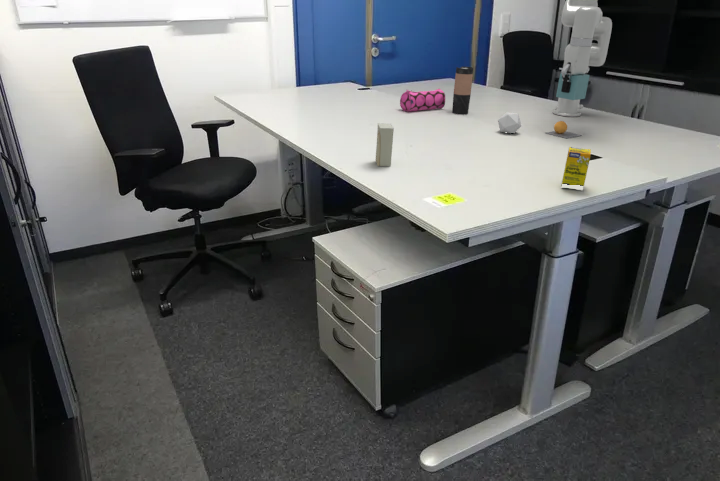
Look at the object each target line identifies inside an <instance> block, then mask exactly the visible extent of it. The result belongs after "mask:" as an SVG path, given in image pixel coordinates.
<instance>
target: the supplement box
mask: <svg viewBox="0 0 720 481" xmlns="http://www.w3.org/2000/svg"><path fill="white" fill-rule="evenodd" d="M567 151H568V152H567V154H566V155H567V156H566V161H565V166H564V171H563V176H562V180H561V185H562V184H567V185H580V186H585V182H586V178H587V173H588V169H589V164H590V160H591V154H592V152H591V151H592V150H591V149H590V148H589V149H588V148H582V147H581V148H580V147H573V146H569V147H568V150H567Z"/></svg>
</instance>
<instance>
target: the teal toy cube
mask: <svg viewBox="0 0 720 481" xmlns="http://www.w3.org/2000/svg"><path fill="white" fill-rule="evenodd" d="M569 76H570V75H568V78H569ZM562 79H563V78H562V73H561V72H560V74H559V79H558V84H557V90H556V96H555V97H556V98H564V99H569V100H579V99H580V100H585V99H586V97H587V90H588V86H589V80H590V74H587V75H586V74H582V75H572V78H571V81H570V82H571V86H570V91H569V93H566V92H561V89H562V84H563V81H562Z"/></svg>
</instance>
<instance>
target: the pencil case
mask: <svg viewBox="0 0 720 481" xmlns="http://www.w3.org/2000/svg"><path fill="white" fill-rule="evenodd" d="M445 104H446V94H445V92H444V91H443V90H442V89H441V88H438V89H437V88H436V89H434V90H428V91H427V90H426V91H423V90H422V91H421V90H420V91H415V90H414V91H413V90H409V89H406V91H404V92H402V94H401V96H400V100H399V105H400V109H402V111H404V112H406V113H407V112H410V113H412V112H419V111H432V110H440V109H442V108H445Z"/></svg>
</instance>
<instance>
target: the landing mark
mask: <svg viewBox="0 0 720 481" xmlns="http://www.w3.org/2000/svg"><path fill="white" fill-rule="evenodd" d="M545 134H547V135H552V136H554V137H557V138H559V137H560V138H563V139H572V138H576V137H581V136H582V134H579V133H574V132H572V131H567V130H566V131H565V132H564V133H562V134H558V133H556V132H555V130H551V131H547V132H545Z"/></svg>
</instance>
